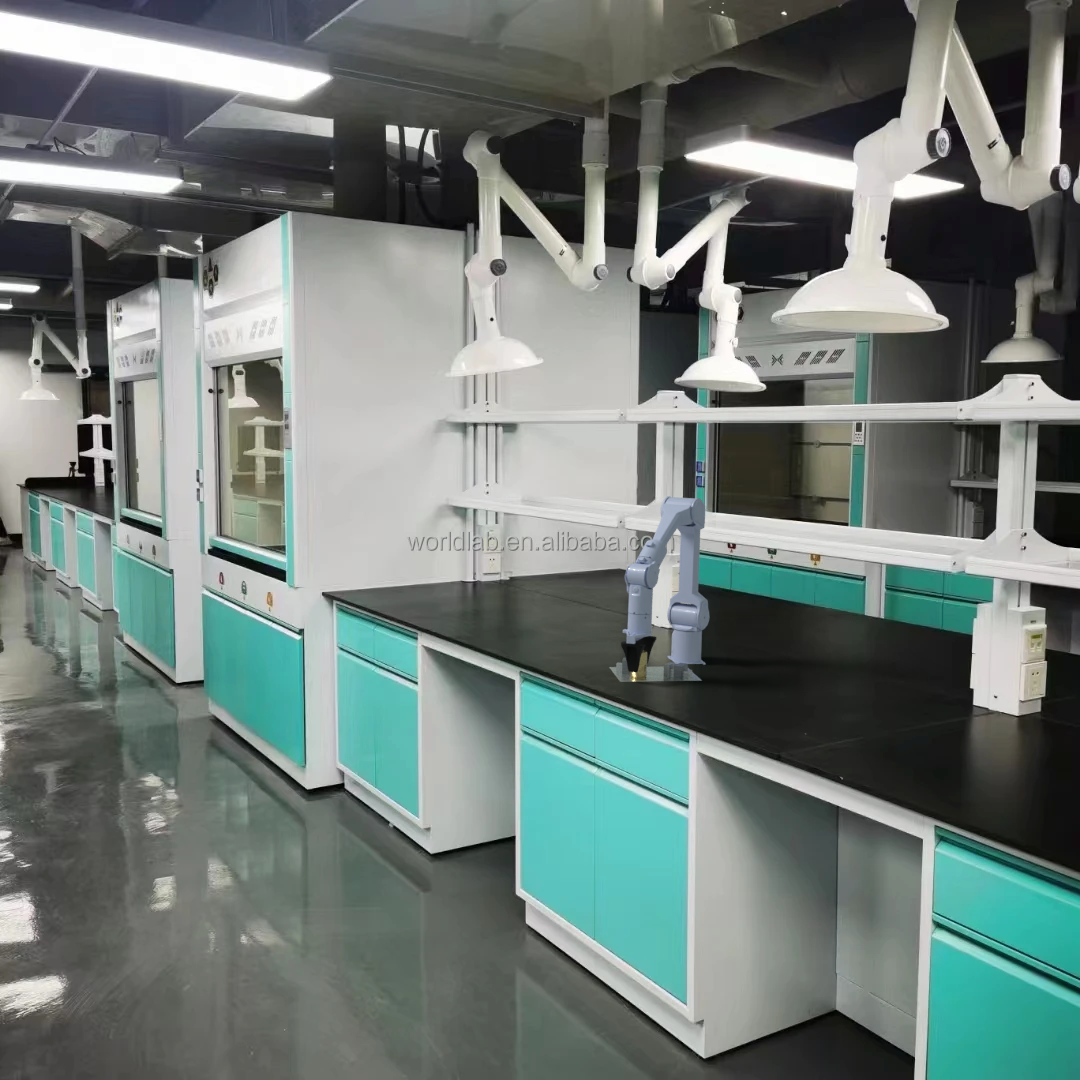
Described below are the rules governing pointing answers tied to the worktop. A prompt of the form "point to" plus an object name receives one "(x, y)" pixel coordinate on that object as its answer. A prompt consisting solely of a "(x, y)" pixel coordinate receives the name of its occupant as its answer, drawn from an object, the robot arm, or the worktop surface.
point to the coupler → (641, 668)
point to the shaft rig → (657, 672)
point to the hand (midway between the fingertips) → (637, 668)
